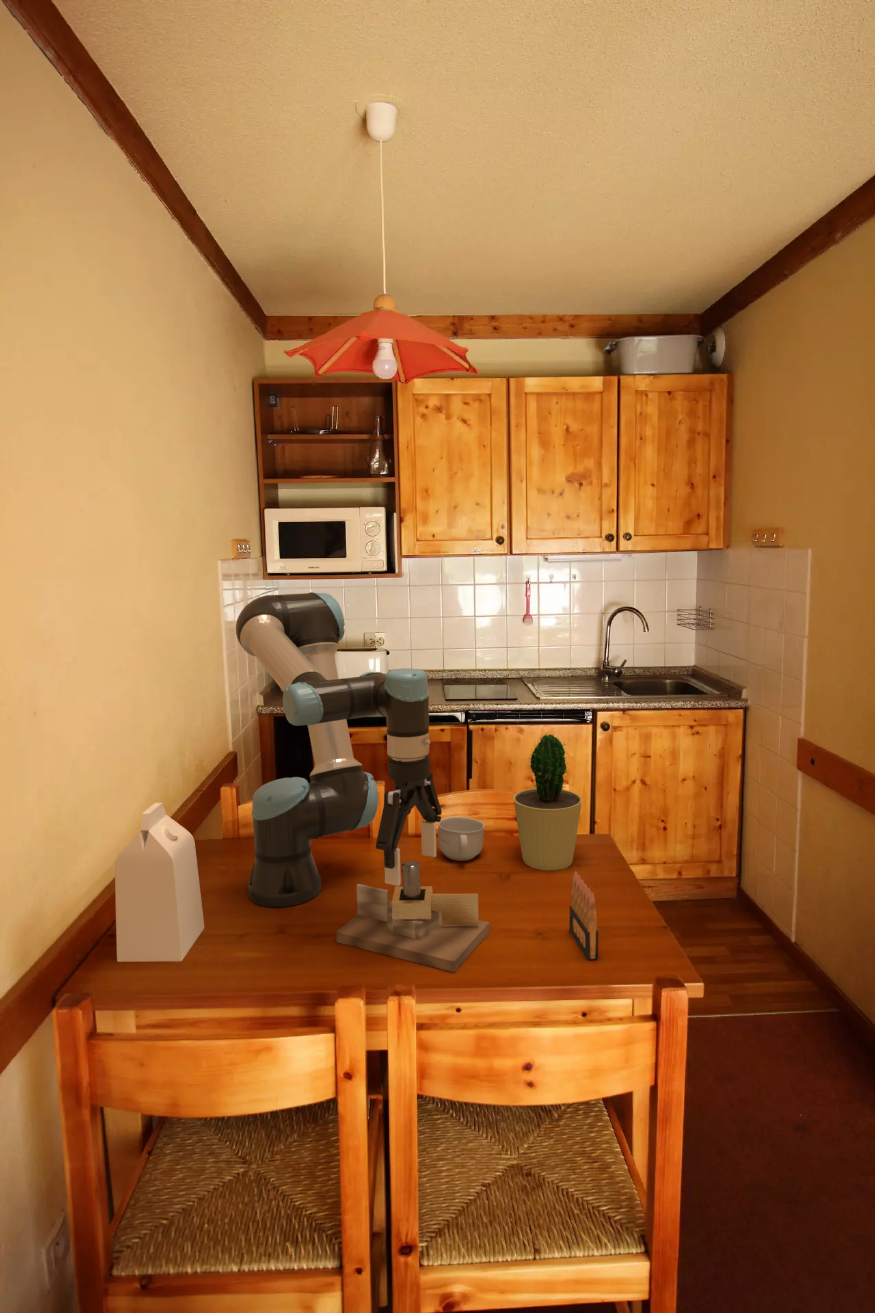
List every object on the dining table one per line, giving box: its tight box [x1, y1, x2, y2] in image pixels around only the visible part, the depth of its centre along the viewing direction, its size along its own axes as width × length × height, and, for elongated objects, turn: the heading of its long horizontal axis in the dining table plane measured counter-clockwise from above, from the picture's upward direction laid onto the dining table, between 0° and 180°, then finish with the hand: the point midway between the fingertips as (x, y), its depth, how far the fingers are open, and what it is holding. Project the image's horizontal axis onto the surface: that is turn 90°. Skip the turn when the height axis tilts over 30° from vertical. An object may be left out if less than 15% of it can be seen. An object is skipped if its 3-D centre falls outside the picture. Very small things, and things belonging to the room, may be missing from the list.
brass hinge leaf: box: [391, 885, 479, 925], centre depth 139 cm, size 16×7×6 cm, turn 88°
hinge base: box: [335, 883, 490, 973], centre depth 139 cm, size 24×15×8 cm, turn 63°
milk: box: [114, 802, 205, 963], centre depth 137 cm, size 12×12×26 cm
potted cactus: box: [512, 732, 583, 871], centre depth 171 cm, size 15×15×30 cm
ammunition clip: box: [568, 870, 599, 961], centre depth 135 cm, size 11×2×12 cm, turn 8°
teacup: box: [437, 816, 485, 862], centre depth 174 cm, size 14×11×8 cm
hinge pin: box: [401, 860, 421, 920], centre depth 139 cm, size 3×3×12 cm
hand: (411, 869), depth 138 cm, fingers open, 13 cm apart
